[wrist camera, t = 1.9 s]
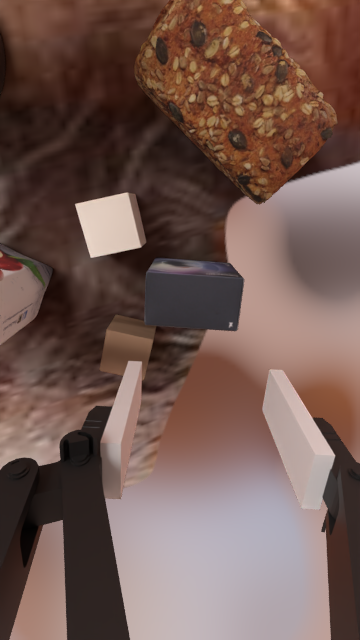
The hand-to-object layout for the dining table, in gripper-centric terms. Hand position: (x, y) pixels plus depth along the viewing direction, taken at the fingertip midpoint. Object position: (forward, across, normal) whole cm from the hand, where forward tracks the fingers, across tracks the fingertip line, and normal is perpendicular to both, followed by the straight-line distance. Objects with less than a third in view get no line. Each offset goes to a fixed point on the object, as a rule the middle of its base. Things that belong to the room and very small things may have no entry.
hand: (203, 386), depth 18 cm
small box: (+27, 0, 0) cm, 27 cm away
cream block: (+27, -10, +7) cm, 30 cm away
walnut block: (+27, -8, -9) cm, 30 cm away
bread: (+27, +3, +20) cm, 34 cm away
